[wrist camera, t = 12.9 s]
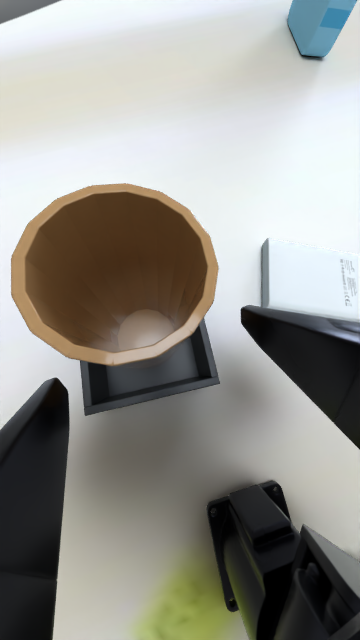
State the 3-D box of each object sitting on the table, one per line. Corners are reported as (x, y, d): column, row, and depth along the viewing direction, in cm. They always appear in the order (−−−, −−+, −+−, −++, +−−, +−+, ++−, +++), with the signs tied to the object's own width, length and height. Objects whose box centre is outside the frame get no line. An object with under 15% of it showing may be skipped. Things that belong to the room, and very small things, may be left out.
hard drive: (261, 245, 23) (357, 261, 24) (261, 310, 21) (367, 326, 22) (268, 236, 21) (371, 254, 22) (269, 305, 19) (383, 322, 20)
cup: (183, 361, 18) (240, 340, 5) (119, 375, 17) (10, 387, 4) (171, 303, 19) (194, 178, 7) (111, 313, 18) (10, 189, 6)
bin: (204, 380, 18) (220, 383, 13) (105, 403, 17) (84, 416, 12) (181, 284, 20) (189, 257, 16) (93, 297, 19) (71, 272, 14)
